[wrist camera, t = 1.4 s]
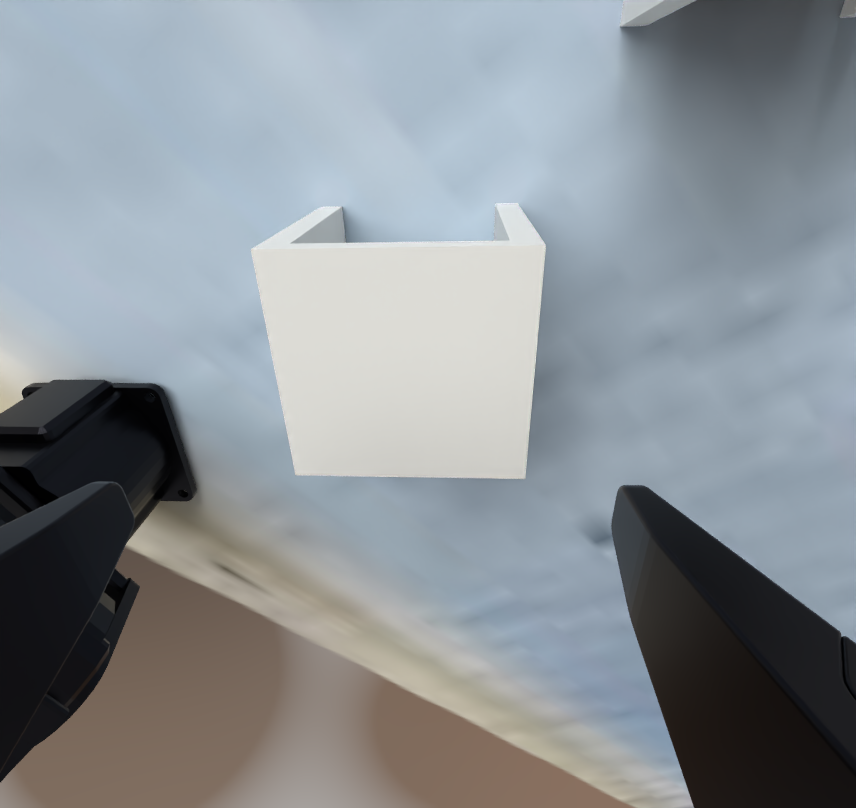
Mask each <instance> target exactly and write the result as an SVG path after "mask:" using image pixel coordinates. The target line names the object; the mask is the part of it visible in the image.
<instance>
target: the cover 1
mask: <svg viewBox="0 0 856 808" xmlns="http://www.w3.org/2000/svg"><path fill="white" fill-rule="evenodd" d="M545 250H546V245H545V243H544V242H543V240H542V239H541V237H540V236H539V234H538V233H537V231H536V230H535V228H534V227H533V225H532V224H531V222H530V221H529V219H528V218H527V217H526V215H525V214H524V212H523V211H522V209H521V208H520V206H519V205H518V203H497V204H495V219H494V241H438V242H369V243H346V239H345V229H344V220H343V210H342V206H341V207H320V208H318V209H316V210H315V211H313V212H311V213H310V214H308V215H307V216H305V217H303V218H302V219H300V220H298V221H297V222H295V223H293V224H292V225H290V226H288V227H287V228H285V229H283V230H282V231H280V232H278V233H277V234H275V235H274V236H272V237H270V238H269V239H267V240H265V241H264V242H262V243H260V244H259V245H257V246H255V247H254V248H252V249H251V253H252V258H253V263H254V268H255V273H256V278H257V283H258V288H259V293H260V298H261V303H262V308H263V313H264V318H265V324H266V329H267V334H268V339H269V344H270V349H271V354H272V359H273V364H274V369H275V374H276V379H277V384H278V389H279V394H280V399H281V404H282V409H283V414H284V419H285V425H286V430H287V435H288V440H289V445H290V450H291V455H292V460H293V465H294V470H295V475H308V476H369V477H430V478H491V479H525V475H526V464H527V453H528V441H529V430H530V419H531V408H532V396H533V385H534V374H535V363H536V351H537V340H538V329H539V318H540V306H541V295H542V284H543V273H544V261H545Z"/></svg>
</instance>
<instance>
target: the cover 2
mask: <svg viewBox="0 0 856 808" xmlns="http://www.w3.org/2000/svg"><path fill="white" fill-rule="evenodd" d="M694 1H696V0H623V7H622V15H621V22H620V27H632V26H647V25H649V24H651V23H653V22H655V21H657V20H659V19H661V18H663V17H665V16H667V15H669V14H671V13H673V12H675V11H677V10H678V9H680V8H682V7H684V6H686V5H688V4H690V3H692V2H694ZM849 17H856V0H845V1H844V4H843V8H842V11H841V14H840V17H839V18H849Z"/></svg>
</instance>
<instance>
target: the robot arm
mask: <svg viewBox="0 0 856 808" xmlns="http://www.w3.org/2000/svg"><path fill="white" fill-rule="evenodd" d="M149 393H152V394H153V395H154V396H155V398H153V397H152V396H150V394H149ZM22 396H23V398H24V399H23V400H21V401H20V402H18V403H17V404H15V405H14V406H12V407H10V408H9V409H7V410H6V411H4V412H3V413H1V414H0V782H1V781H2V780H3V779H4V778H5V776H6V775H7V774H8V773H9V772H10V771H11V770H12V769H13V768H14V767H15V766H16V764H18V763H19V762H20V761H21V760H22V759H23V758H24V756H25V755H26V754H27V753H28V752H29V751H30V750H31V749H32V748H33V747H34V746H36V745H37V744H39V743H40V742H42V741H43V740H45V739H46V738H47V737H48V736H50V735H51V734H52V733H53V732H55V731H56V730H57V729H58V728H59V727H60V726H61V725H62V724H63V723H65V721H67V720H68V719H69V718H70V717H71V716H72V715H73V713H74V712H75V711H76V710H77V709H78V708H79V707H80V706H81V705H82V704H83V702H84V701H85V700H86V699H87V697H88V696H89V695H90V693H91V692H92V691H93V690H94V688H95V686H96V685H97V684H98V682H99V681H100V679H101V677H102V675H103V674H104V672H105V670H106V668H107V666H108V663H109V661H110V658H111V656H112V654H113V651H114V649H115V646H116V644H117V642H118V639H119V636H120V634H121V632H122V629H123V627H124V625H125V622H126V619H127V617H128V615H129V612H130V610H131V607H132V605H133V603H134V600H135V598H136V595H137V593H138V591H139V588H140V586H139V585H137V584H136V583H135V582H134V581H133V580H132V579H131V578H128V579H127V578H126V577H125V576H124V575H123V574H121V573H120V572H119V571H118V570H117V569H116V568H115V567H116V565H117V562H118V560H119V558H120V556H121V554H122V552H123V550H124V547H125V545H126V543H127V542H128V540H129V539H130V538H131V537H132V535H133V534H134V533H135V532H136V530H137V529H138V528H139V527H140V525H141V524H142V523H143V522H144V520H145V519H146V518H147V517H148V515H149V514H150V513H151V512H152V510H153V509H154V508H155V506H156V505H157V504H158V503H159V501H189V500H191V499H192V498H193V497H194V495H195V494H196V492H197V490H196V486H195V483H194V480H193V477H192V474H191V471H190V468H189V465H188V461H187V458H186V455H185V452H184V449H183V446H182V443H181V440H180V437H179V434H178V431H177V428H176V425H175V422H174V419H173V416H172V413H171V410H170V407H169V404H168V400H167V397H166V394H165V392H164V390H163V389H162V388H161V387H160V386H158V385H156V384H151V383H111V382H109V381H106V380H53V381H51V382H50V383H33V384H30V385H29V386H27V387H25V388H24V389H23V390H22ZM184 490H185V491H187V492H185V491H184ZM611 527H612V536H613V541H614V546H615V550H616V555H617V560H618V564H619V569H620V574H621V578H622V583H623V588H624V592H625V597H626V602H627V606H628V610H629V615H630V618H631V622H632V625H633V628H634V631H635V634H636V637H637V640H638V643H639V646H640V649H641V652H642V655H643V658H644V661H645V664H646V667H647V670H648V673H649V676H650V679H651V682H652V684H653V687H654V690H655V693H656V696H657V699H658V702H659V705H660V708H661V711H662V714H663V717H664V720H665V723H666V726H667V729H668V732H669V735H670V738H671V741H672V744H673V746H674V749H675V752H676V755H677V758H678V761H679V764H680V767H681V770H682V773H683V776H684V779H685V782H686V785H687V788H688V791H689V794H690V797H691V800H692V803H693V806H694V808H856V643H855V642H853V641H852V640H851V639H849V638H848V637H846V636H843V637H841V633H840V631H838V630H837V629H836V628H834V627H833V626H832V625H830V624H829V623H828V622H826V621H825V620H824V619H822V618H821V617H820V616H818V615H817V614H816V613H814V612H813V611H812V610H810V609H809V608H808V607H806V606H805V605H804V604H802V603H801V602H800V601H798V600H797V599H796V598H794V597H793V596H792V595H790V594H789V593H788V592H786V591H785V590H784V589H782V588H781V587H780V586H778V585H777V584H776V583H774V582H773V581H772V580H770V579H769V578H768V577H766V576H765V575H764V574H762V573H761V572H760V571H758V570H757V569H756V568H754V567H753V566H752V565H750V564H749V563H748V562H746V561H745V560H744V559H742V558H741V557H740V556H738V555H737V554H736V553H734V552H733V551H732V550H730V549H729V548H728V547H726V546H725V545H724V544H722V543H721V542H720V541H718V540H717V539H716V538H714V537H713V536H712V535H710V534H709V533H708V532H706V531H705V530H704V529H702V528H701V527H700V526H698V525H697V524H696V523H694V522H693V521H692V520H690V519H689V518H688V517H686V516H685V515H684V514H682V513H681V512H680V511H678V510H677V509H676V508H674V507H673V506H672V505H670V504H669V503H668V502H666V501H665V500H664V499H662V498H661V497H660V496H658V495H657V494H656V493H654V492H653V491H652V490H650V489H649V488H647V487H646V486H642V485H623V486H621V487H620V488H619V489H618V492H617V496H616V501H615V507H614V512H613V517H612V525H611Z"/></svg>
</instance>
